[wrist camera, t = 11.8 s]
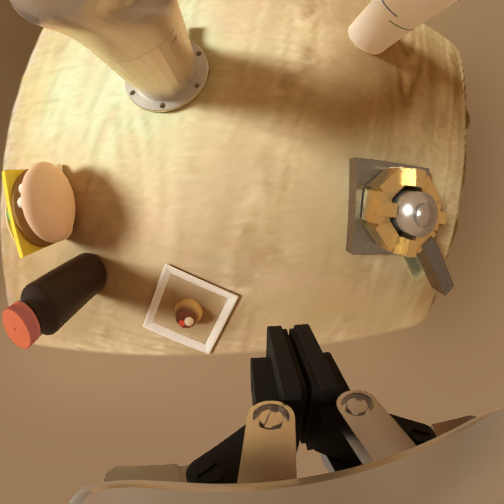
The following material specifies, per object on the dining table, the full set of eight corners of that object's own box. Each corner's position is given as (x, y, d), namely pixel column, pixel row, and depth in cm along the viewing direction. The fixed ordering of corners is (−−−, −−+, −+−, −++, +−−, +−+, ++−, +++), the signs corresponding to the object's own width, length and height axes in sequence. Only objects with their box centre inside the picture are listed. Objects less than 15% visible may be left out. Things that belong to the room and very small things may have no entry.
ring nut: (347, 202, 36) (365, 206, 30) (400, 153, 34) (421, 151, 29) (412, 305, 41) (430, 318, 36) (454, 259, 40) (473, 268, 34)
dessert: (144, 323, 42) (136, 338, 37) (167, 261, 40) (159, 271, 35) (209, 351, 44) (207, 367, 39) (239, 293, 42) (239, 306, 37)
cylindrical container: (362, 17, 30) (436, -56, 6) (391, 44, 32) (480, -14, 8) (340, 32, 31) (415, -54, 7) (371, 61, 33) (468, -5, 9)
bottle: (86, 296, 40) (19, 360, 20) (68, 261, 38) (-10, 310, 19) (114, 283, 39) (47, 350, 20) (95, 245, 38) (13, 292, 18)
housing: (349, 158, 37) (384, 153, 27) (435, 171, 38) (475, 173, 28) (342, 288, 42) (369, 316, 32) (425, 281, 43) (459, 302, 33)
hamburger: (91, 229, 37) (47, 246, 26) (55, 242, 37) (11, 262, 26) (75, 157, 34) (28, 153, 22) (40, 175, 34) (-7, 178, 22)
